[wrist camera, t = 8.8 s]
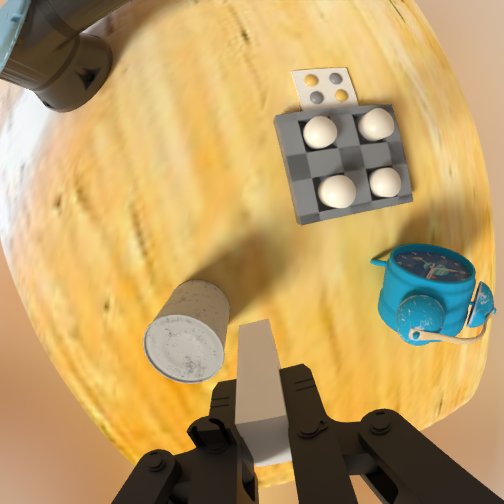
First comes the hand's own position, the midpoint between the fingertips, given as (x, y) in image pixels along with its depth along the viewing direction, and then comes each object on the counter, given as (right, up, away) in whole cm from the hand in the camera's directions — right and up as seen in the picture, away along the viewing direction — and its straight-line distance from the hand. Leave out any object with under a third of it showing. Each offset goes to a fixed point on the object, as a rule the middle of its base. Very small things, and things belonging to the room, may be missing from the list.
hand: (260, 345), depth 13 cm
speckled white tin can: (-8, -4, +28) cm, 29 cm away
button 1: (+8, +21, +21) cm, 31 cm away
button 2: (+10, +13, +21) cm, 26 cm away
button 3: (+16, +22, +19) cm, 33 cm away
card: (+11, +29, +21) cm, 37 cm away
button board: (+13, +18, +23) cm, 32 cm away
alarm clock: (+24, +1, +27) cm, 36 cm away
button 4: (+18, +15, +22) cm, 32 cm away
